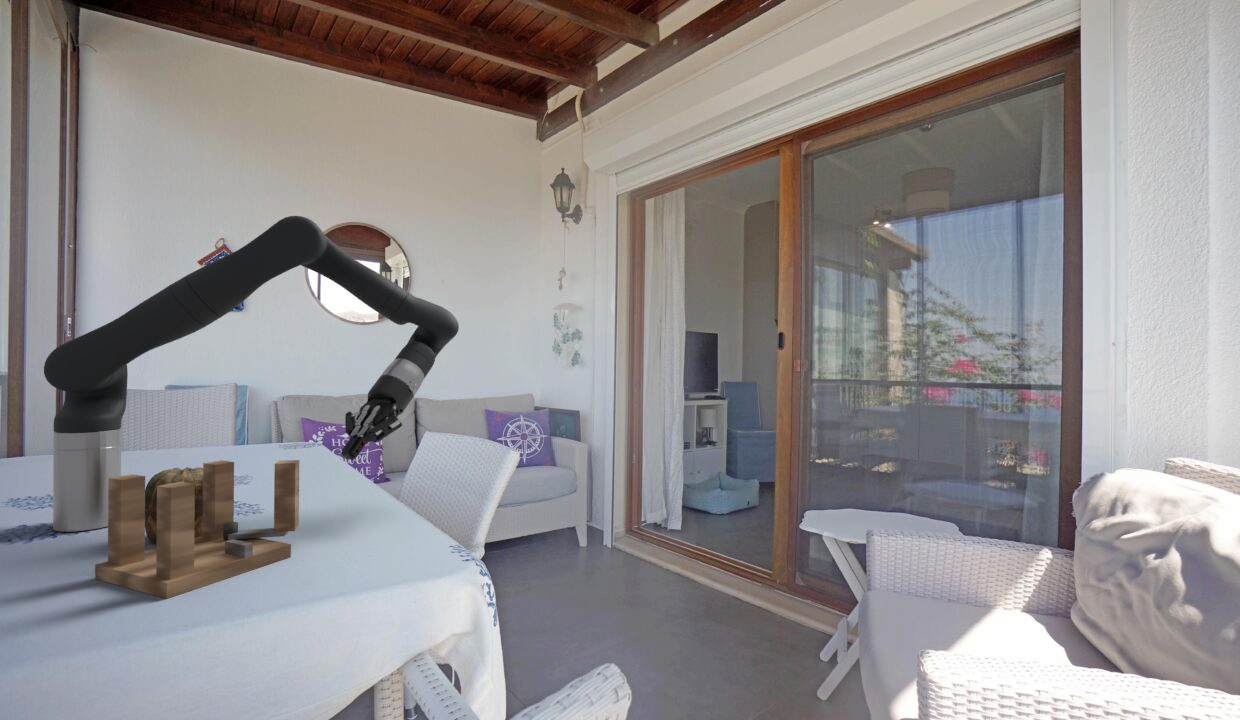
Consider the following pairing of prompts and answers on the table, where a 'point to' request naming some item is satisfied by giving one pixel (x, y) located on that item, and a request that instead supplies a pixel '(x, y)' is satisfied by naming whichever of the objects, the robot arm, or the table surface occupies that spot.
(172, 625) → the table surface
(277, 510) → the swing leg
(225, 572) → the wooden peg stand
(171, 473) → the shell
